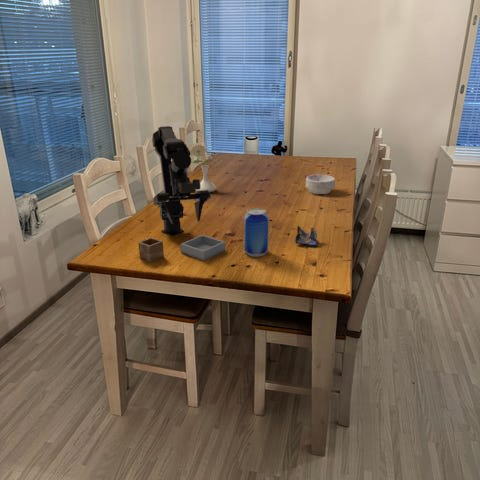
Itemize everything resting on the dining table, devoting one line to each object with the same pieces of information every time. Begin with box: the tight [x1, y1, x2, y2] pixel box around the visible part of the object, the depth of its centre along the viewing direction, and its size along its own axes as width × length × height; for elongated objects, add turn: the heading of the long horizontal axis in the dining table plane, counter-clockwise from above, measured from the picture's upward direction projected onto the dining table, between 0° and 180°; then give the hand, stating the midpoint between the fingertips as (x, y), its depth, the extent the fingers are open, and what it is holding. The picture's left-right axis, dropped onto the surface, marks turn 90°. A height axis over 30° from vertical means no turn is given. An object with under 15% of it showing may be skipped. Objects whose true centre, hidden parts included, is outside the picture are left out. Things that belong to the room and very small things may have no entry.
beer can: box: [244, 207, 269, 258], centre depth 155 cm, size 8×8×16 cm
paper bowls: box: [305, 174, 336, 195], centre depth 229 cm, size 15×15×8 cm
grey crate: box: [180, 234, 226, 262], centre depth 159 cm, size 11×11×4 cm
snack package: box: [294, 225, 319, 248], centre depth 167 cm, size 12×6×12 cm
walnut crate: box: [137, 237, 165, 263], centre depth 154 cm, size 6×6×6 cm
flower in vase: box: [190, 144, 217, 193], centre depth 229 cm, size 13×11×25 cm
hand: (186, 222), depth 146 cm, fingers open, 9 cm apart
